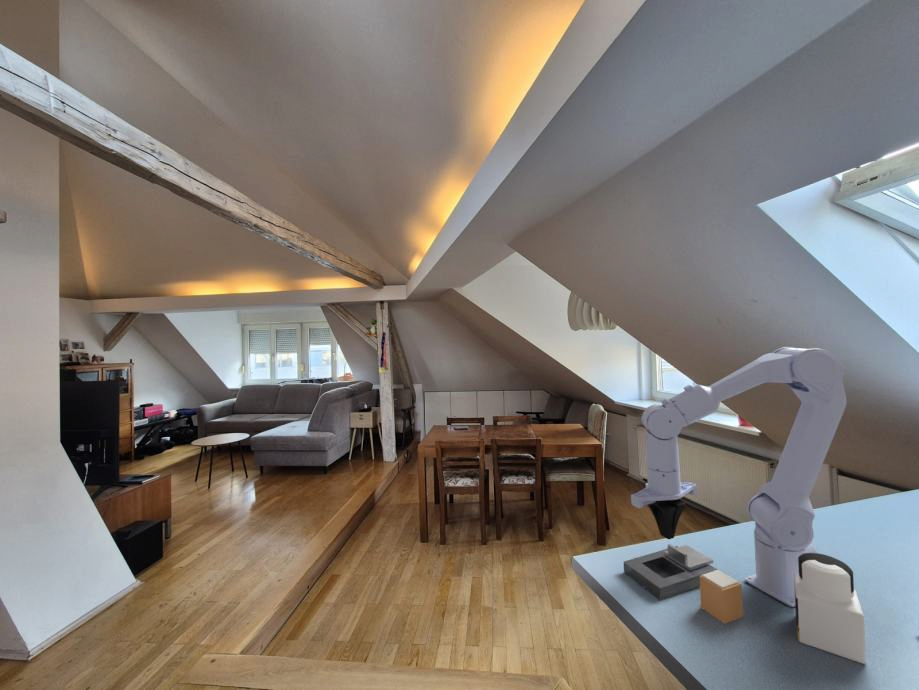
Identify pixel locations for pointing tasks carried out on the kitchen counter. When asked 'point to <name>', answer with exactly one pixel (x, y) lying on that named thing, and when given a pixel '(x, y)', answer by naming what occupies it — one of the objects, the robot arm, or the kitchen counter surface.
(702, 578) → the brown and white block
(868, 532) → the kitchen counter surface
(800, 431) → the robot arm
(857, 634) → the medicine bottle
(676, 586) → the socket plate
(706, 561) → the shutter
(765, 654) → the kitchen counter surface
